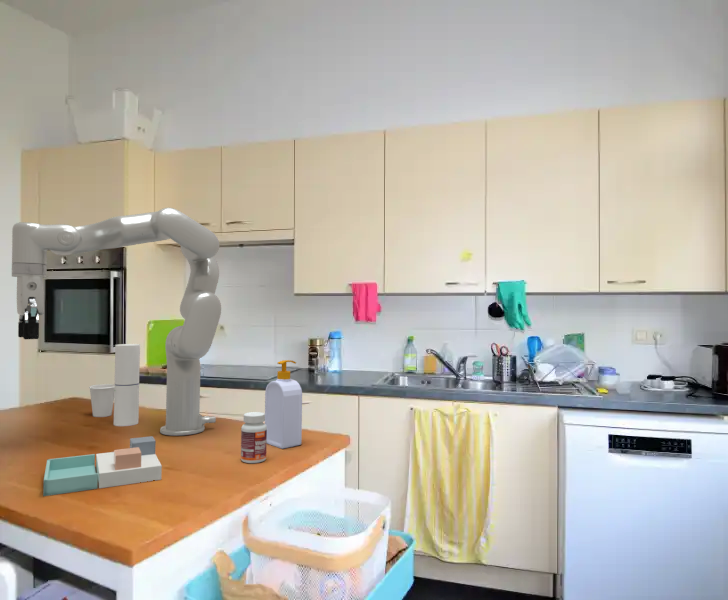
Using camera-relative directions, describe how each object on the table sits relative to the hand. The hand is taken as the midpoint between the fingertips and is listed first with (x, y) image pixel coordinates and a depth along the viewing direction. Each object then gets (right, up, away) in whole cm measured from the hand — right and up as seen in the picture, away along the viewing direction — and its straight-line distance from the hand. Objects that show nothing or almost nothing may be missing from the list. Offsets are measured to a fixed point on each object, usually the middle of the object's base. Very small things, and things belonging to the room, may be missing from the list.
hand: (28, 338), depth 132 cm
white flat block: (+33, -29, -16) cm, 47 cm away
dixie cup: (-3, -30, +43) cm, 53 cm away
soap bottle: (+64, -30, +10) cm, 71 cm away
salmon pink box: (+35, -26, -21) cm, 48 cm away
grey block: (+34, -26, -11) cm, 44 cm away
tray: (+24, -29, -22) cm, 43 cm away
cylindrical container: (+10, -30, +32) cm, 45 cm away
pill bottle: (+59, -30, -5) cm, 66 cm away
